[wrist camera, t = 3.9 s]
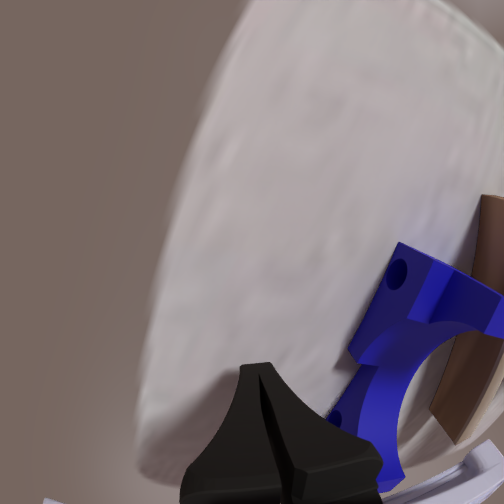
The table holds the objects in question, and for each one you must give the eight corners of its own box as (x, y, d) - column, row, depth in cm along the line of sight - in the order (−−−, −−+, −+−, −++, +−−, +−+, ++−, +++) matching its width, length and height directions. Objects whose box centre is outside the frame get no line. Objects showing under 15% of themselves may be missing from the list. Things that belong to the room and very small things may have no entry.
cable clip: (396, 240, 13) (484, 288, 7) (450, 265, 14) (526, 310, 8) (299, 422, 16) (324, 501, 10) (356, 425, 17) (389, 491, 11)
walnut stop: (496, 195, 13) (549, 209, 9) (443, 403, 18) (470, 437, 13) (481, 194, 13) (538, 208, 9) (428, 409, 17) (455, 445, 13)
